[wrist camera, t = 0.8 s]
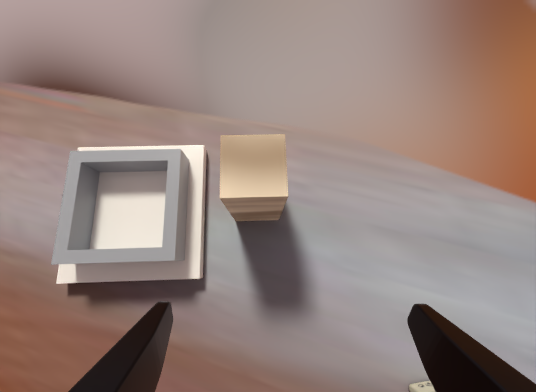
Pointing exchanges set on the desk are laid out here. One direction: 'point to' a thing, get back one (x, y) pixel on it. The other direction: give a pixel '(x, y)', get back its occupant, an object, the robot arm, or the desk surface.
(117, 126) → the desk surface
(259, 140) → the block
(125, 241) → the square tray
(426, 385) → the skincare box
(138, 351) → the robot arm
